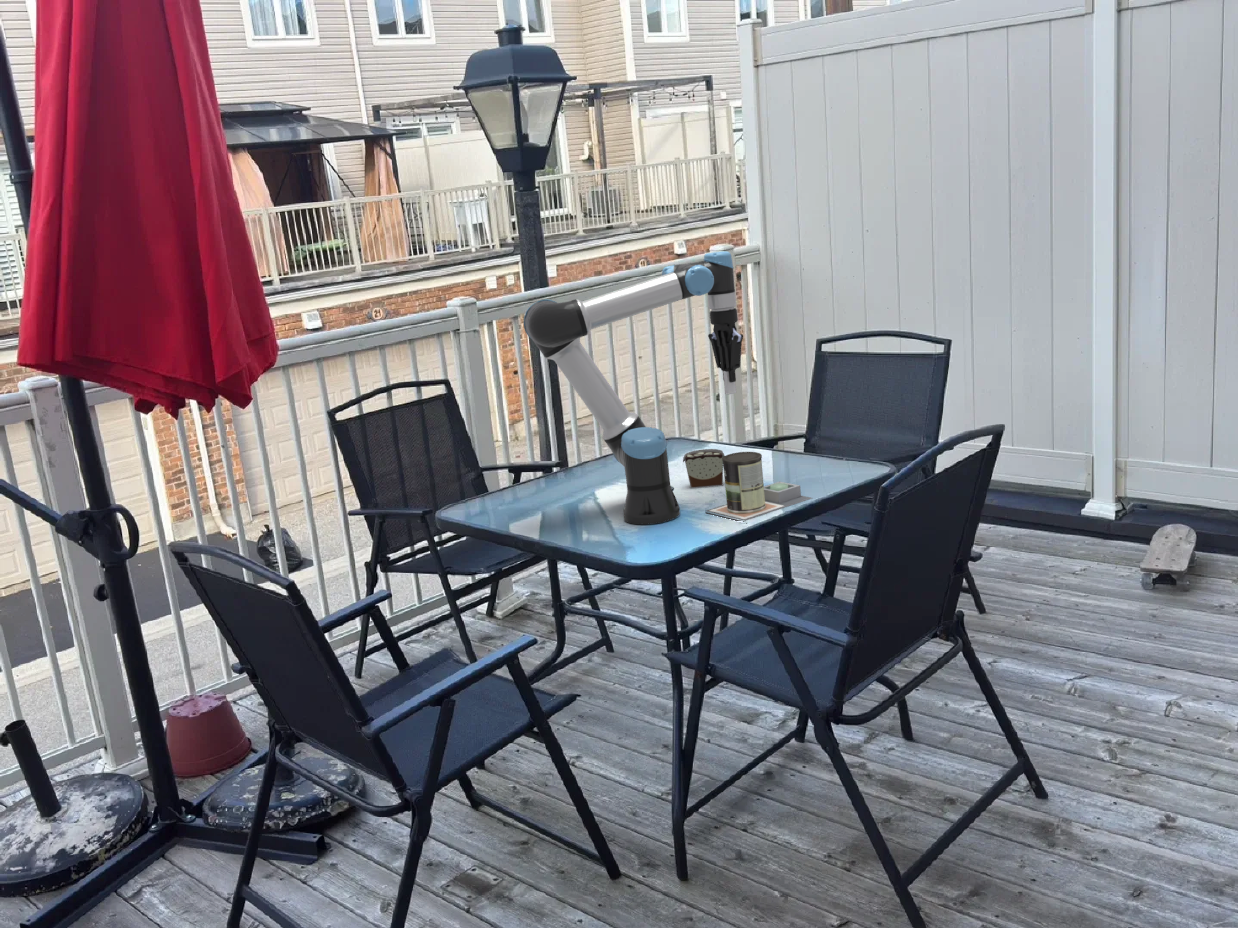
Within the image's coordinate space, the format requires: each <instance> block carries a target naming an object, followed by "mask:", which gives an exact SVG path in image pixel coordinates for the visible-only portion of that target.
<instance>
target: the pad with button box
mask: <svg viewBox="0 0 1238 928" xmlns="http://www.w3.org/2000/svg"><path fill="white" fill-rule="evenodd" d="M776 483H786V484H788V488H787V489H784V490H780V491H775V490H770V485H772V484H776ZM801 493H802V491H801V485H799V484H793V483H789V482H783V481H776V482H774V483H770V484H767V485H764V495H765V505H766V507H765V508H764V509H763V510H760V511H757V512H753V513H744V514H739V513H732V512H729V511H728V510H727V503H726V504H723V505H720V506H716V507H714V508H711V509H709V508H708V509H707V510H705V514H706V515H709V516H713V515H714V516H713V517H717V516H718V518H721V517H722V518H721V519H725V518H726V519H725V520H729V519H731V520H730V521H733V520H735V521H734V522H737V521H743V522H747V521H749V520H752V519H755V518H758V517H761V516H764V515H768V514H770V513H773V512H777V511H779V510H782V509H785V508H788V507H791V506H793V505H794V506H795V505H796V504H800V503H802V502H807V501H808V500H812V499H813V497H809V496H804V495H802V494H801Z"/></svg>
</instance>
